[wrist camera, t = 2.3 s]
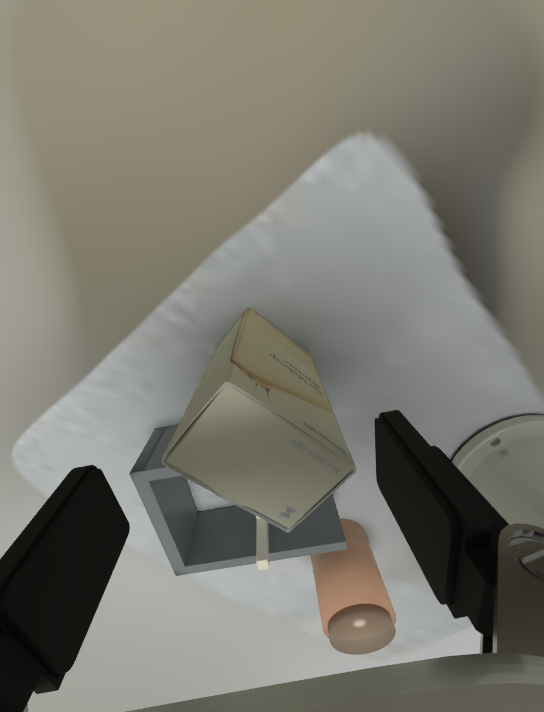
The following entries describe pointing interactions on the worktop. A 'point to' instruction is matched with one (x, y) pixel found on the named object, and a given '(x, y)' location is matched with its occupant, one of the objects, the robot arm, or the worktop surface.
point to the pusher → (262, 544)
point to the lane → (219, 521)
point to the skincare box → (262, 428)
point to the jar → (353, 595)
